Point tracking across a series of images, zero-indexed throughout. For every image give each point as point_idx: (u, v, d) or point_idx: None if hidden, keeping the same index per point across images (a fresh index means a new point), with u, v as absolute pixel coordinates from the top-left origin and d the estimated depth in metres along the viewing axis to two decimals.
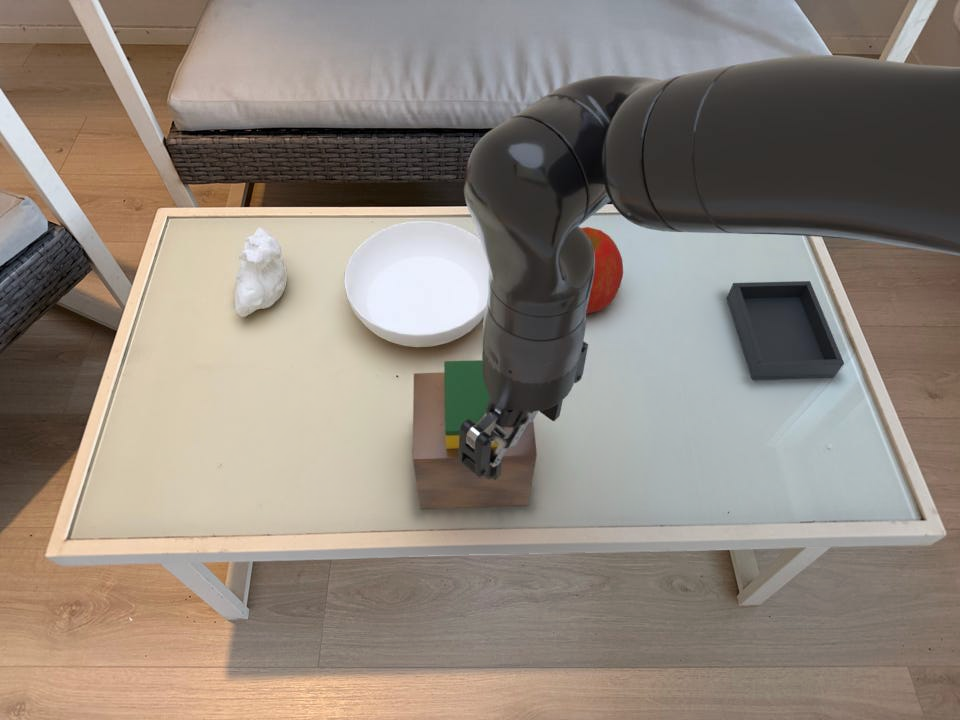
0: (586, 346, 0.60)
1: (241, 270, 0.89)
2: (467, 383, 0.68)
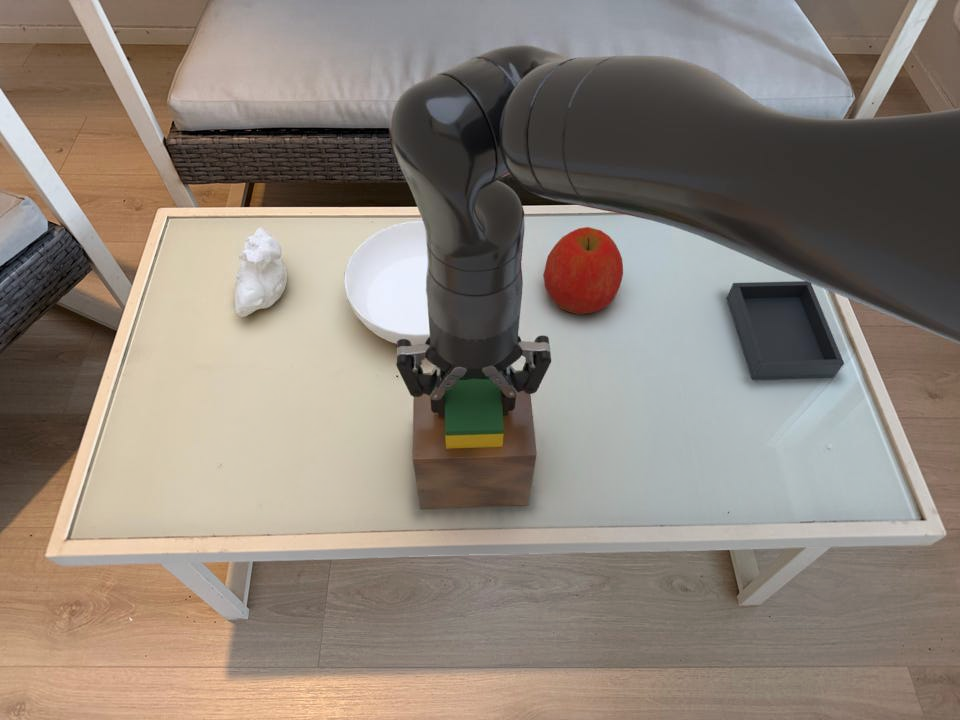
0: (548, 361, 0.61)
1: (241, 270, 0.89)
2: (466, 383, 0.68)
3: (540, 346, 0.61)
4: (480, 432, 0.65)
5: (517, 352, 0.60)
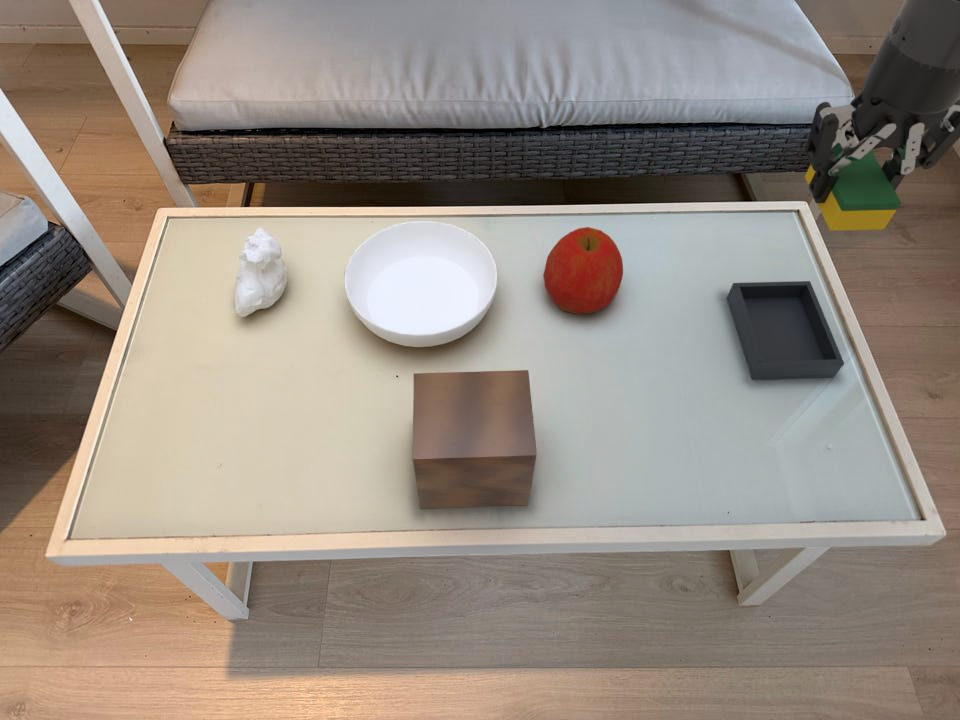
0: None
1: (241, 270, 0.89)
2: (848, 167, 0.69)
3: None
4: (877, 206, 0.66)
5: (947, 109, 0.61)
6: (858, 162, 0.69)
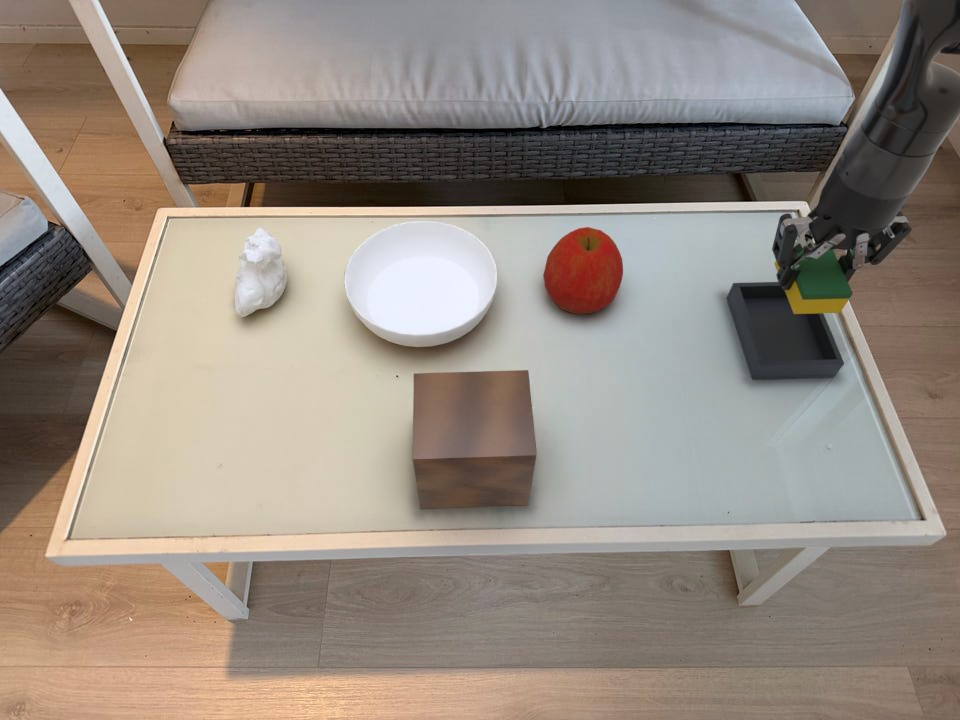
0: (909, 230, 0.74)
1: (241, 270, 0.89)
2: (810, 260, 0.81)
3: (901, 219, 0.75)
4: (832, 296, 0.79)
5: None
6: None
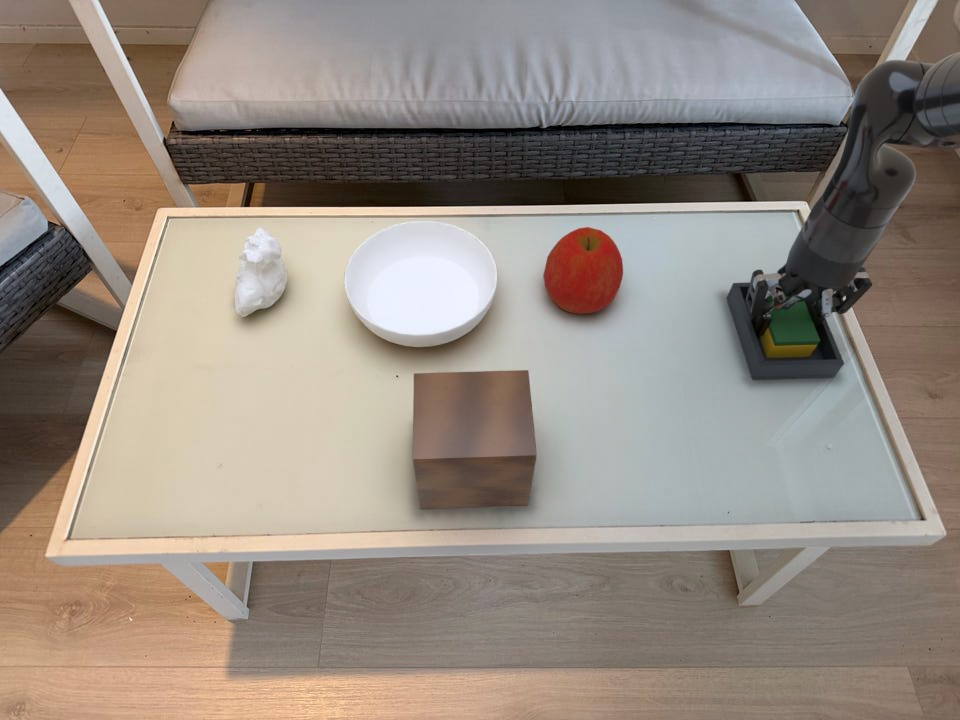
0: (870, 285, 0.82)
1: (241, 270, 0.89)
2: None
3: (862, 274, 0.82)
4: (801, 343, 0.86)
5: None
6: None
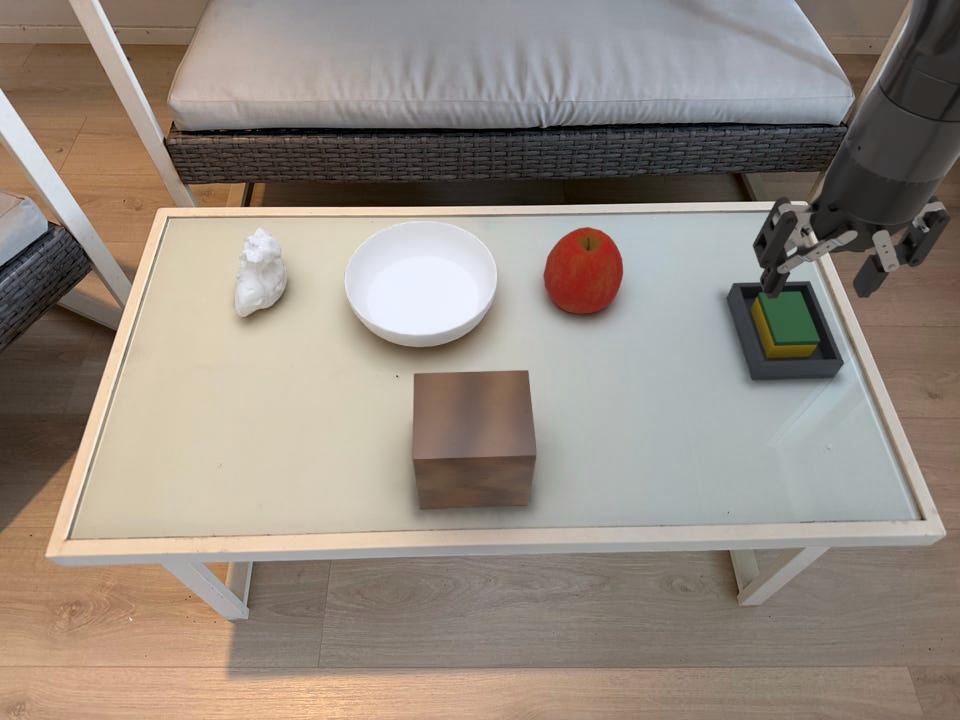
0: (947, 219, 0.56)
1: (241, 270, 0.89)
2: (782, 308, 0.89)
3: (934, 206, 0.57)
4: (801, 343, 0.86)
5: None
6: (789, 304, 0.89)
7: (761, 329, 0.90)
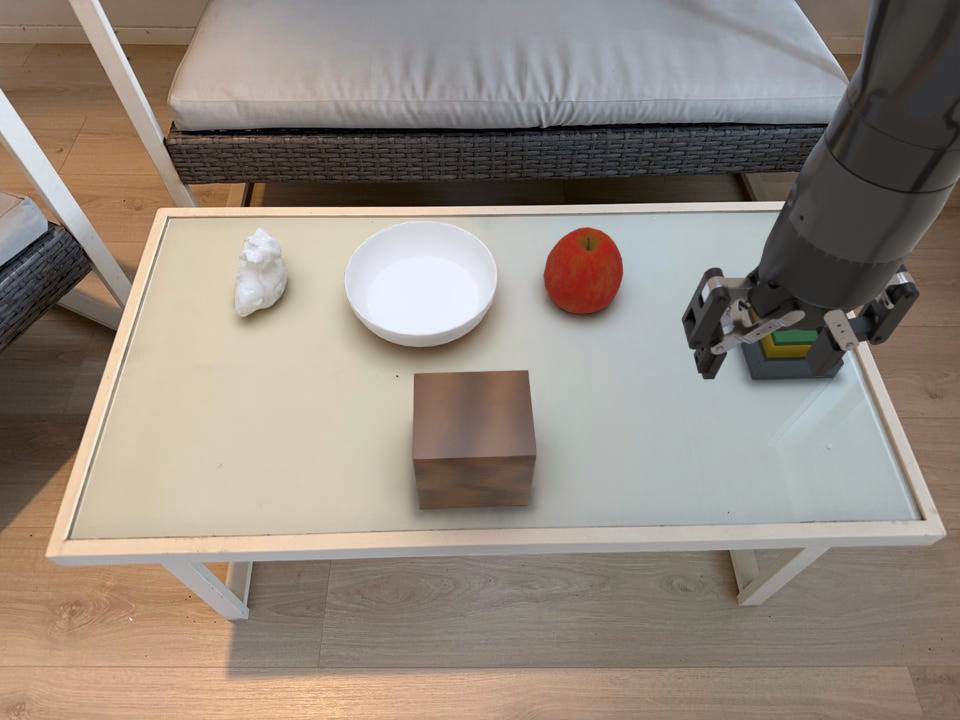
0: (915, 295, 0.45)
1: (241, 270, 0.89)
2: None
3: (899, 278, 0.46)
4: (801, 343, 0.86)
5: None
6: None
7: None
